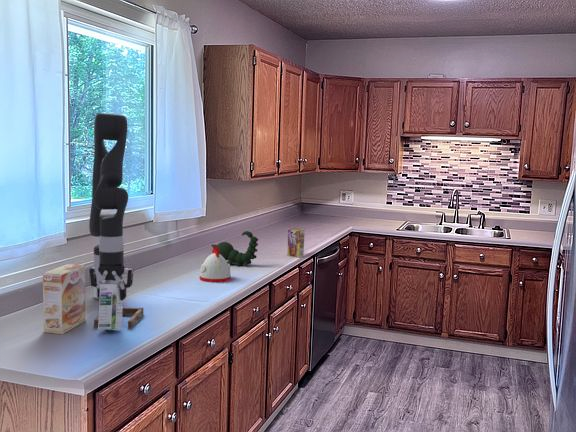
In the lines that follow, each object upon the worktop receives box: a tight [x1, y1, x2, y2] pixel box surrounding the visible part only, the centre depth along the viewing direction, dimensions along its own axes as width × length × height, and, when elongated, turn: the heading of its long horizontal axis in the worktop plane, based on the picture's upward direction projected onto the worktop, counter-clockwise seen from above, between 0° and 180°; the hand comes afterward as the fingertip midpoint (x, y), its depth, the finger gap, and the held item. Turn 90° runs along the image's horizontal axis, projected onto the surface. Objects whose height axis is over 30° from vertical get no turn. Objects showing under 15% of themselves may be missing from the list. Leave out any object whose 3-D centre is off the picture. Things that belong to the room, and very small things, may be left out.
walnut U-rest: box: [93, 306, 144, 330], centre depth 205 cm, size 16×12×2 cm
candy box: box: [286, 227, 306, 258], centre depth 329 cm, size 9×4×15 cm, turn 48°
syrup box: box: [97, 284, 124, 330], centre depth 194 cm, size 6×6×14 cm
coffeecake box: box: [42, 263, 87, 335], centre depth 197 cm, size 15×7×20 cm, turn 170°
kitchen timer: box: [199, 246, 232, 283], centre depth 270 cm, size 14×14×15 cm
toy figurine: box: [210, 230, 259, 267], centre depth 302 cm, size 9×19×25 cm
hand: (111, 299), depth 196 cm, fingers closed on syrup box, 6 cm apart
